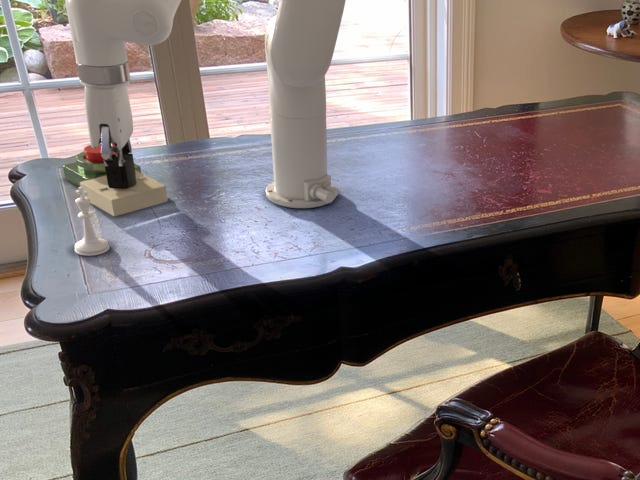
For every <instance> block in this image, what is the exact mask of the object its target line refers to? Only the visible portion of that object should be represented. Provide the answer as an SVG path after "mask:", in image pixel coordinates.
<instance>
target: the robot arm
mask: <svg viewBox="0 0 640 480" xmlns="http://www.w3.org/2000/svg"><path fill="white" fill-rule="evenodd" d="M346 1H347V0H279V1H278V6H277V11H276V14H275V15H274V16H273V17H272V18H271V19H270V21H269V22H268V24H267V25H266V30H265V33H264V52H265V63H266V72H267V73H266V74H267V83H268V85H267V86H268V101H269V121H270V137H271V153H272V169H273V170H272V171H273V181H272V182H270V183H269V184H268V185H267V186H266V187H265V196H266V198H267V199H268V200H269V201H270V202H271V203H273V204H275V205H278V206H281V207H284V208H285V207H286V208H292V209H312V208H318V207H319V208H320V207H323V206H325V205H328V204H332V203H333V202H334V200H335V199H336V198H337V196H339V194H340V189H339V188H337V187H335V185H334V184H332V179H331V178H332V176H331V175H329V174H328V142H327V141H328V139H327V138H328V137H327V133H328V132H327V90H326V88H327V87H326V74H327V73H328V71H329V68H330V67H331V65H332V64H331V63H332V60H333V56H334V53H335V49H336V44H337V40H338V36H339V32H340V27H341V23H342V18H343V14H344V10H345V6H346ZM64 2H65V9H66V15H67V19H68V20H67V21H68V25H69V30H70V37H71V41H72V47H73V52H74V58H75V64H76V69H77V75H78V79H79V84H80V85H81V86H82V87H83V86H84V105H85V114H86V123H87V129H88V136H89V142H90V145H91V146H92V147H93V148H94V149H96V148H98V146H99V145H100V144H101V156H102V158H103V159H104V166H105V170H106V176H107V182H108V187H109V188H120V189H127V188H128V187H129V182H128V176H127V170H126V165H123V155H122V154H127V155H130V156H132V158H133V164H134V163H135V161H134V156H133V155H134V154H133V153H132V152H133V147H132V144H131V136H132V135H133V132H134V122H133V113H132V108H131V102H130V97H129V92H128V87H127V86H128V85H130V84H131V83H132V79H131V73H130V66H129V60H128V52H127V46H126V43H131V44H136V45H142V46H155V45H159V44H161V43H163V42H165V41H166V40H168V38H169V37H170V35H171V33H172V30H173V24H174V18H175V16H176V13H177V10H178V8H179V6H180V4H181V2H182V0H64ZM112 151H114V153H115V154H113V153H112ZM116 154H117V156H116ZM134 170H135V167H134ZM135 175H136V173H135Z"/></svg>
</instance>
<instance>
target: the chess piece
mask: <svg viewBox="0 0 640 480" xmlns="http://www.w3.org/2000/svg"><path fill="white" fill-rule="evenodd" d="M74 194H75V195H79V197H77V198H76V199H75V201H74V202H75V204H76V205H77V207H78V209H79V210H80V212H78V214H77V217H78V218H80V219H82V223H83V238H82V239H80V240H78V241H77V242H75V244H74V252H75V253H76V254H78V255H79V256H86V257H92V256H99V255H102V254H105V253H107V252H108V251H109V250H110V248H111V246H110V244H109V242H108V240H106V239H104V238H101V237H98V236H97V235H96V232H95V229H94V227H93V224H92V221H91V218H93V217H94V212H92V211H89V210H90V204H91V203H90V199H89V198H87V197H84V195H85V196H86V195H88V194H87V192H85V191H83V187H77V189H76V190H74Z"/></svg>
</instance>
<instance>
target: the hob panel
mask: <svg viewBox="0 0 640 480" xmlns="http://www.w3.org/2000/svg"><path fill="white" fill-rule="evenodd" d="M135 173H136V175H135V176H136V185H134V186H132V187H129V188H127V189H120V188H109V187H108V182H107V176H103V177H99V178H95V179H90V180H86V181H82V182H80V187H83V191H85V192H87V194H88V195H86V196H85V195H84V197H87V198H89V199H90V204H92V205H93V206H95V207H96V208H99V209H100V210H102V211H104V212H106V213H107V214H108V215H110V216H112V217H117V216H121V215H125V214H129V213H132V212H135V211H139V210H142V209H147V208H149V207H153V206H156V205H161V204H164V203H167V202H168V201H169V200H168V193H167V187H166V185H165V184H163V183H162V182H159V181H157V180H156V179H154V178H152V177H150V176H148V175H146V174H144V173H142V172H141V173H140V172H138V171H136V170H135Z"/></svg>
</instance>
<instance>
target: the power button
mask: <svg viewBox="0 0 640 480" xmlns="http://www.w3.org/2000/svg"><path fill="white" fill-rule="evenodd" d="M83 151H84V153H85V158H86V160H88V161H95V162H97V161H104V159H103V158H102V156H101V144H100V145H99V146H98V148H96V149H94V148H93V147H92V146H91V144H89V145H86V146H84V148H83ZM112 153H114V151H112Z"/></svg>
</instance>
